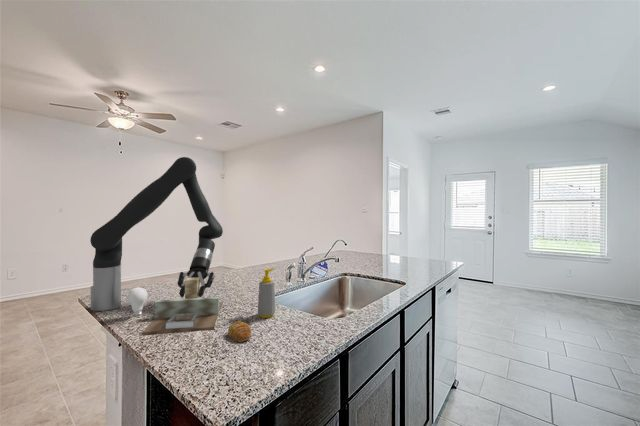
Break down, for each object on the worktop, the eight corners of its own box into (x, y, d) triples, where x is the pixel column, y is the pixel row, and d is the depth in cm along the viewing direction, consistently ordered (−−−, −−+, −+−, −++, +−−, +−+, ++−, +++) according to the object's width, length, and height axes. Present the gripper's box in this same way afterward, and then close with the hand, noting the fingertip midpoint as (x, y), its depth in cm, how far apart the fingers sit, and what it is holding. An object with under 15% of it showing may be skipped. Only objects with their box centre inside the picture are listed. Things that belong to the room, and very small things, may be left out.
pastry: (256, 340, 91) (256, 328, 91) (235, 345, 87) (235, 333, 87) (245, 329, 99) (245, 318, 99) (225, 334, 95) (225, 323, 95)
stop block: (184, 311, 112) (184, 280, 112) (187, 307, 117) (187, 277, 116) (197, 310, 113) (197, 280, 113) (199, 306, 118) (199, 277, 117)
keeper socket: (165, 329, 95) (165, 323, 95) (173, 319, 103) (173, 314, 103) (193, 327, 97) (193, 321, 97) (198, 318, 105) (198, 312, 105)
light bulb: (151, 315, 111) (151, 286, 110) (134, 321, 105) (134, 291, 104) (140, 312, 113) (140, 284, 113) (123, 318, 107) (122, 288, 107)
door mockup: (142, 335, 93) (142, 313, 93) (167, 307, 118) (167, 291, 118) (213, 329, 98) (213, 309, 98) (223, 304, 123) (223, 288, 123)
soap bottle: (279, 315, 111) (279, 269, 111) (264, 320, 106) (264, 272, 106) (268, 310, 116) (268, 266, 116) (253, 315, 111) (254, 269, 111)
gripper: (182, 255, 122) (168, 291, 110) (216, 255, 122) (206, 291, 111) (187, 265, 127) (175, 300, 116) (220, 265, 128) (211, 300, 116)
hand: (190, 296), depth 113 cm, fingers open, 6 cm apart
